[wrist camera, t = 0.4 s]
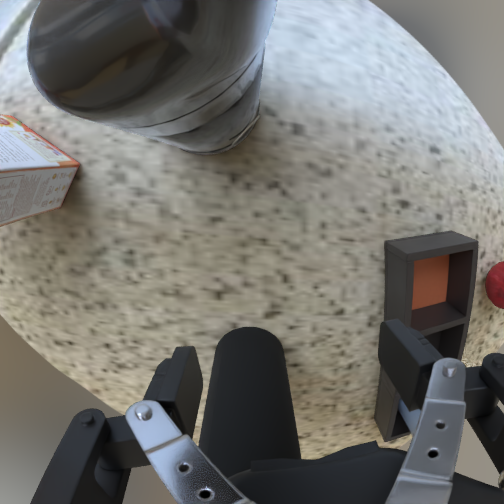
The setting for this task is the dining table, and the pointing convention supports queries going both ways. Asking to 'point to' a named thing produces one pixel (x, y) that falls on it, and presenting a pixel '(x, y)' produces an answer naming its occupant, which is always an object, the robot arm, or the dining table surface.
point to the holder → (426, 304)
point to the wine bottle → (248, 403)
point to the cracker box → (30, 172)
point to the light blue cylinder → (409, 416)
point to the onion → (496, 285)
